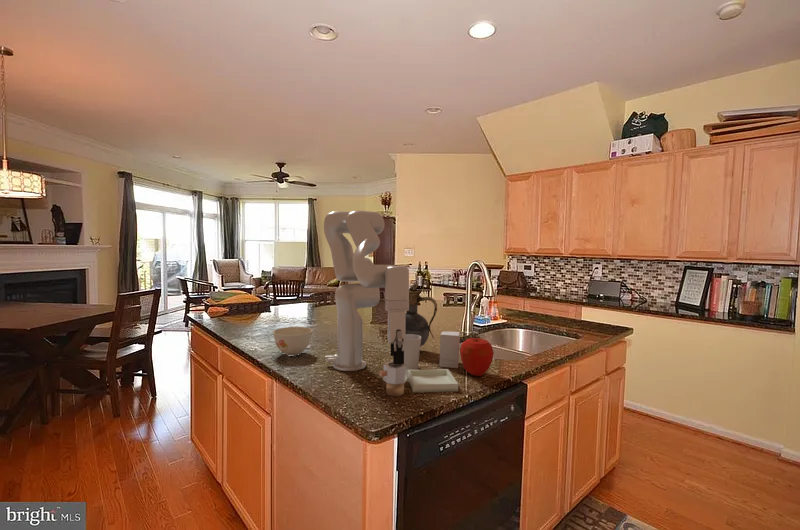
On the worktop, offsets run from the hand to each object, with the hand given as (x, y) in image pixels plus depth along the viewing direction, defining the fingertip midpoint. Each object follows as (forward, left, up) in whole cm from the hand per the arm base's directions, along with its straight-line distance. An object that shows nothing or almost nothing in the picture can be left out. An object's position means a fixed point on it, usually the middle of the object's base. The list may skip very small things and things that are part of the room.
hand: (397, 359), depth 119 cm
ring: (0, +1, -7) cm, 7 cm away
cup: (+8, +25, -11) cm, 28 cm away
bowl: (-39, +45, -11) cm, 60 cm away
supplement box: (+24, +28, -11) cm, 38 cm away
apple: (+31, +16, -11) cm, 36 cm away
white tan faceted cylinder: (0, +1, -11) cm, 11 cm away
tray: (+13, +8, -11) cm, 18 cm away
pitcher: (+13, +47, -11) cm, 50 cm away
